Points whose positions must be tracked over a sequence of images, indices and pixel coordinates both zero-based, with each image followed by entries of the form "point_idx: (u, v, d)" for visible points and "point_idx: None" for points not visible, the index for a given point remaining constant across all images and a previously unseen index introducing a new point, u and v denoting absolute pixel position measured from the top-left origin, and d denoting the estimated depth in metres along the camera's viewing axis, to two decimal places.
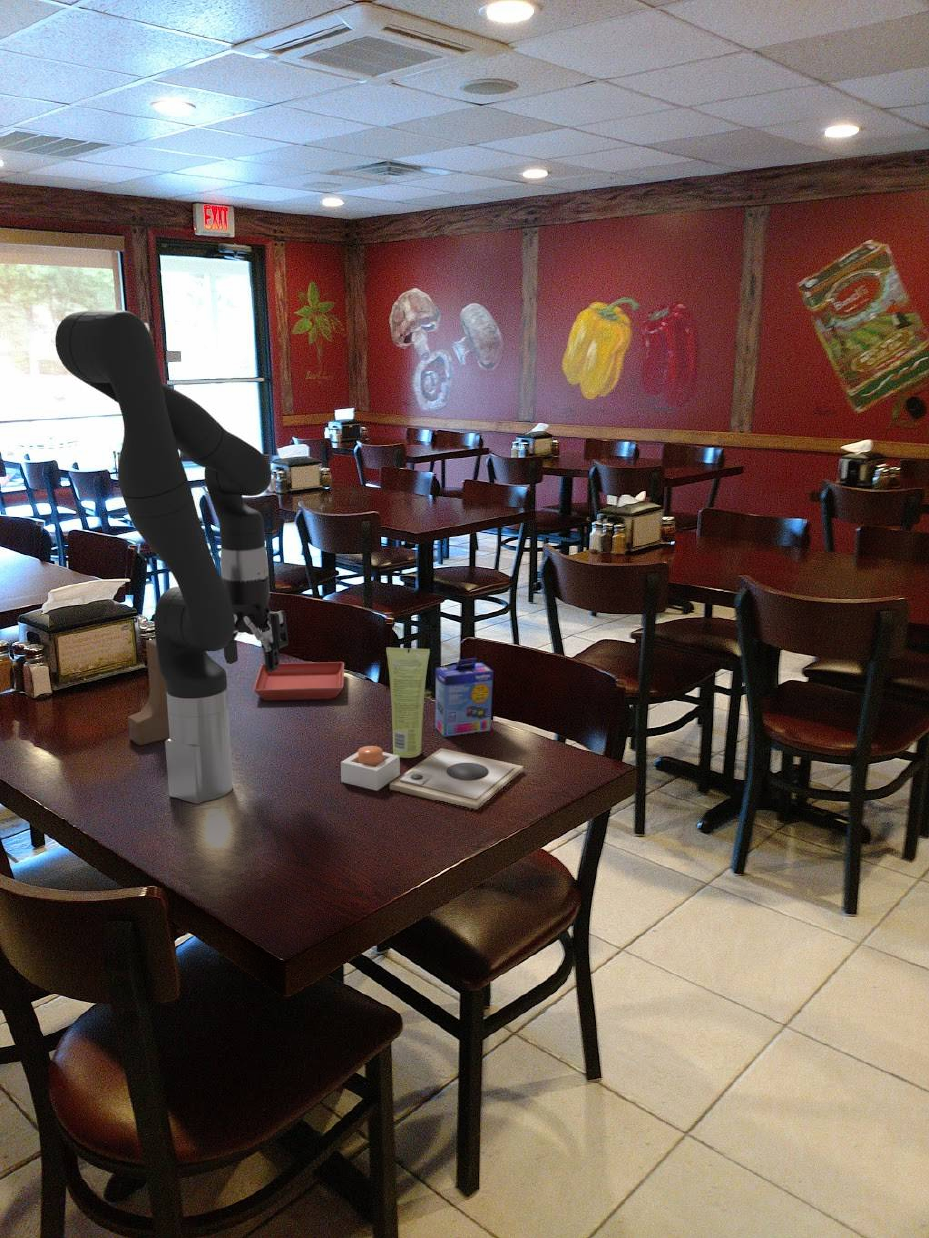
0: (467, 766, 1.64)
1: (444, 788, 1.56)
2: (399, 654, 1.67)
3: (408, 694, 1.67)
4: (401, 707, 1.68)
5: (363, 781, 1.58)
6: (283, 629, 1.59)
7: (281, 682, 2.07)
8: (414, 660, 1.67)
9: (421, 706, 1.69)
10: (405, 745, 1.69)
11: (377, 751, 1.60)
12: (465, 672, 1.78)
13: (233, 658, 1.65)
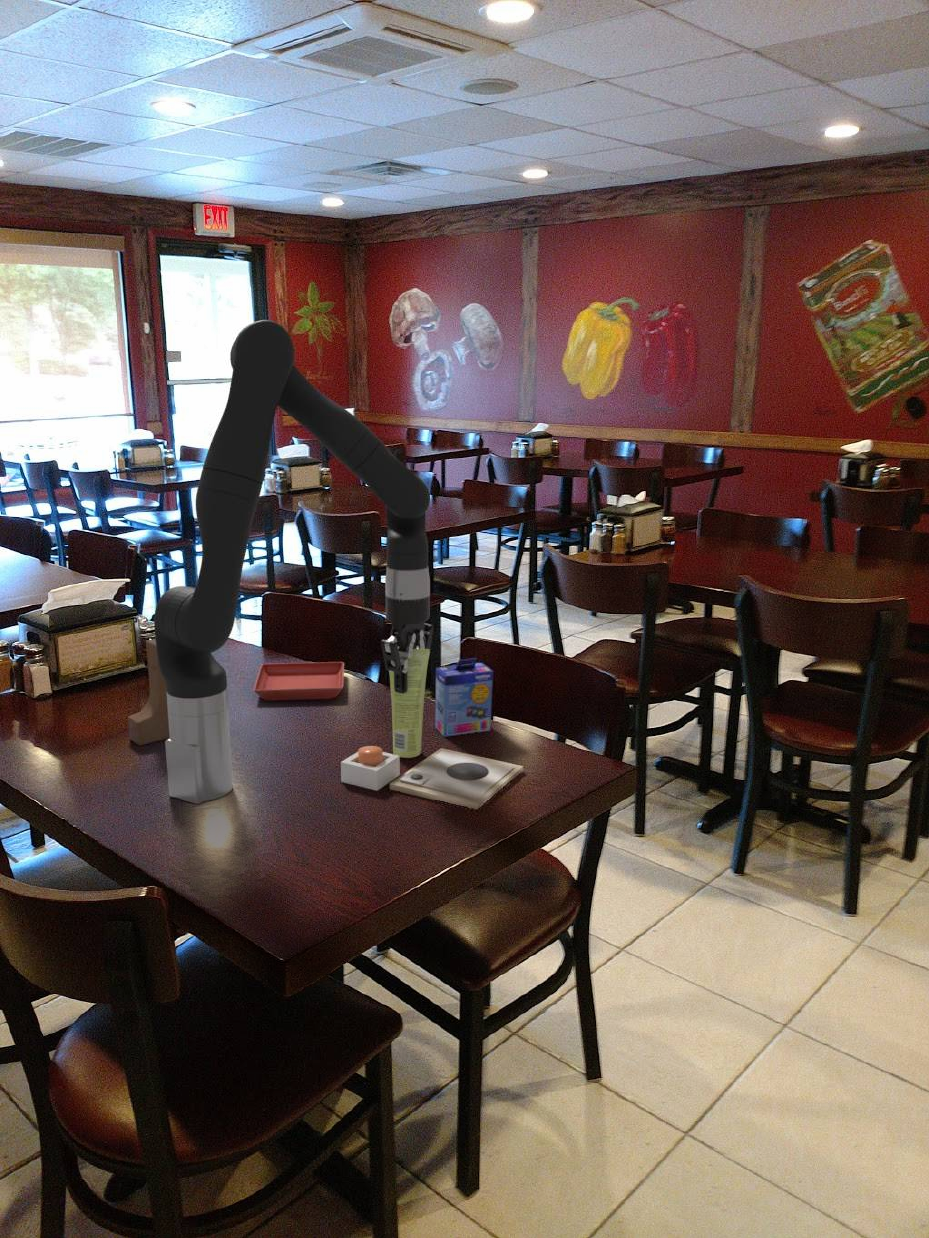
0: (467, 766, 1.64)
1: (444, 788, 1.56)
2: None
3: (408, 694, 1.67)
4: (401, 707, 1.68)
5: (363, 781, 1.58)
6: None
7: (281, 682, 2.07)
8: (414, 660, 1.67)
9: (421, 706, 1.69)
10: (405, 745, 1.69)
11: (377, 751, 1.60)
12: (465, 672, 1.78)
13: None
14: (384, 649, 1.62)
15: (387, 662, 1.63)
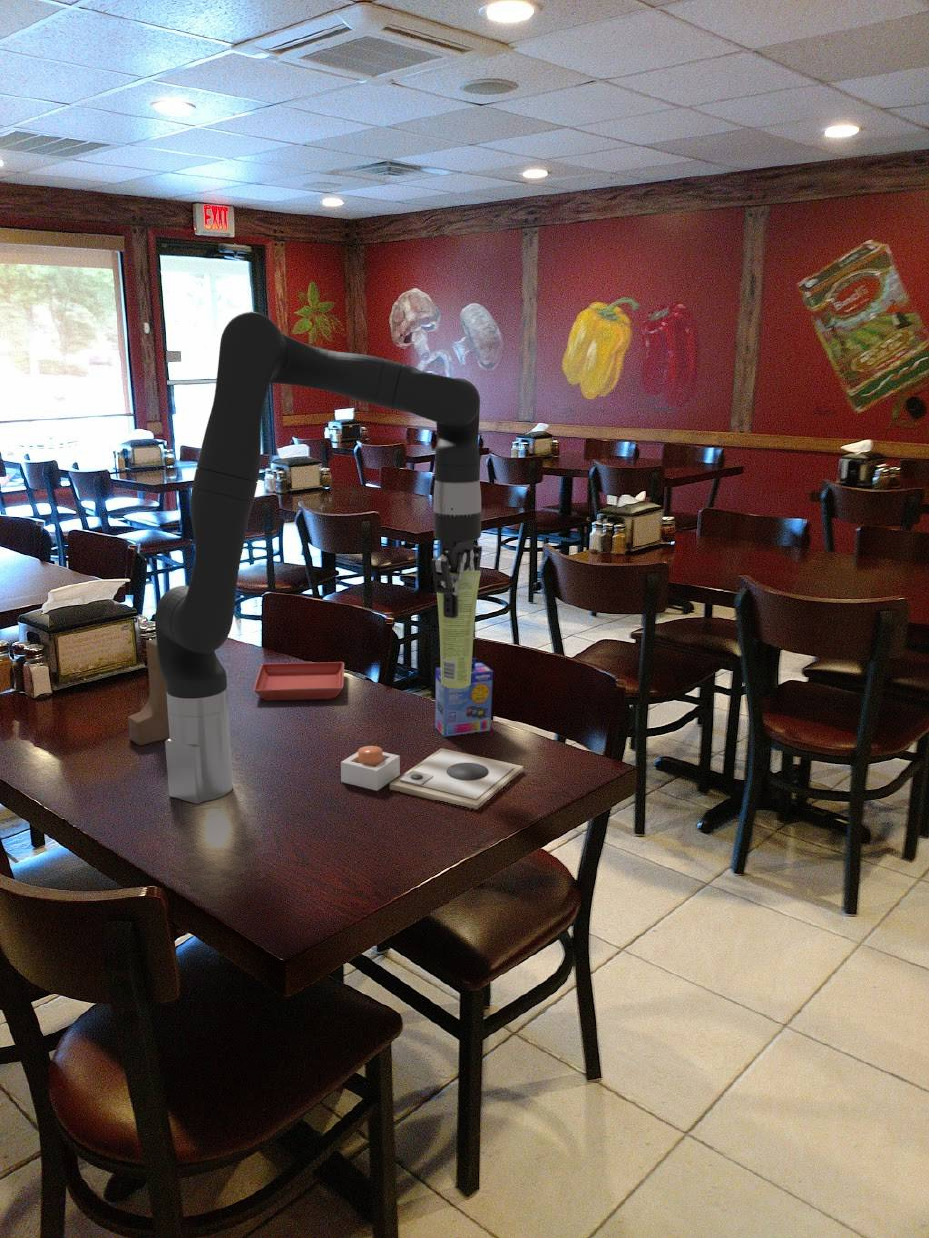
0: (467, 766, 1.64)
1: (444, 788, 1.56)
2: None
3: (458, 619, 1.56)
4: (451, 633, 1.57)
5: (363, 781, 1.58)
6: None
7: (281, 682, 2.07)
8: (464, 583, 1.56)
9: (472, 632, 1.58)
10: (455, 675, 1.58)
11: (377, 751, 1.60)
12: None
13: None
14: (434, 569, 1.50)
15: (437, 583, 1.52)
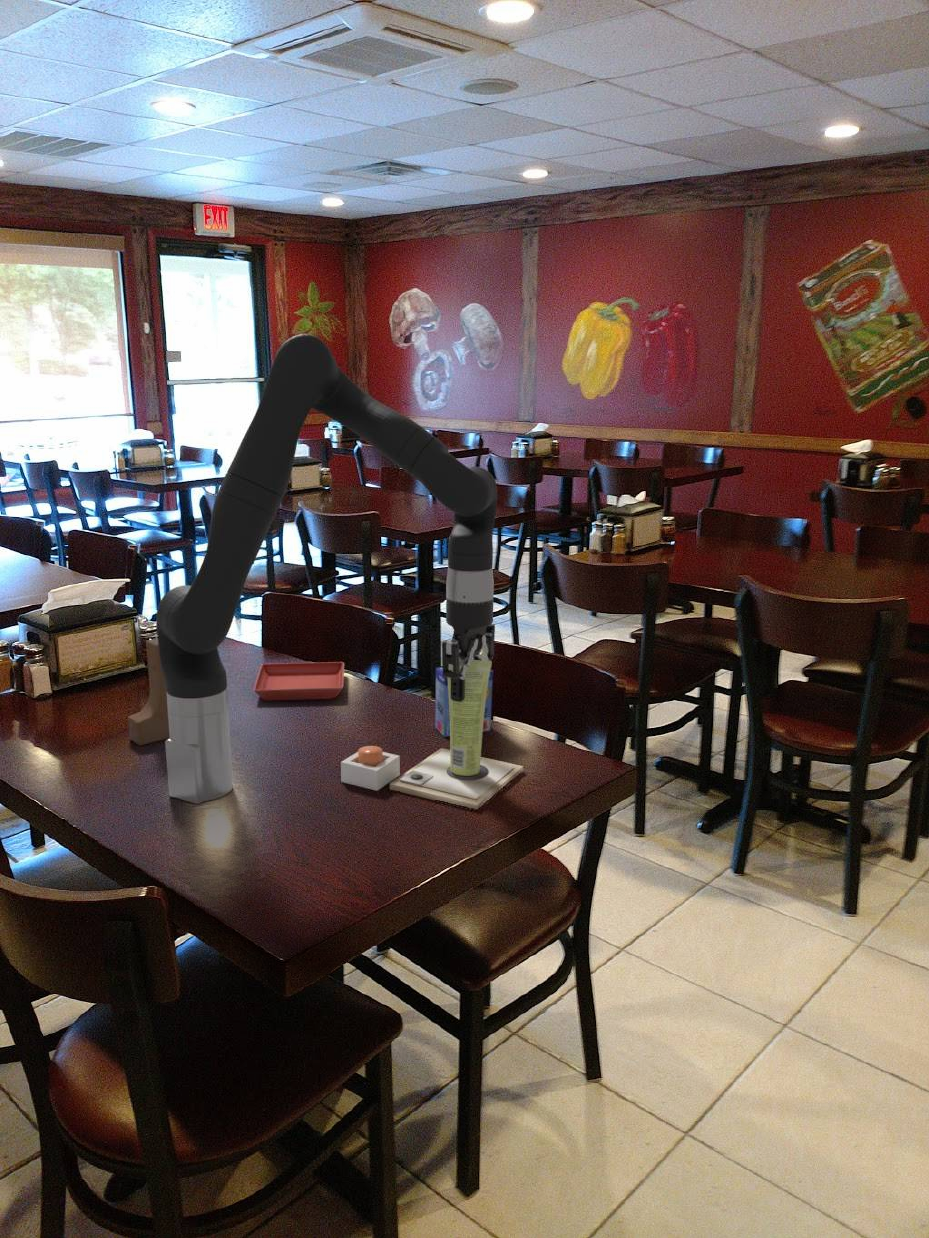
0: None
1: (444, 788, 1.56)
2: None
3: (468, 708, 1.57)
4: (460, 721, 1.58)
5: (363, 781, 1.58)
6: None
7: (281, 682, 2.07)
8: (475, 672, 1.57)
9: (481, 721, 1.59)
10: (463, 762, 1.59)
11: (377, 751, 1.60)
12: None
13: None
14: (445, 650, 1.51)
15: (445, 667, 1.52)
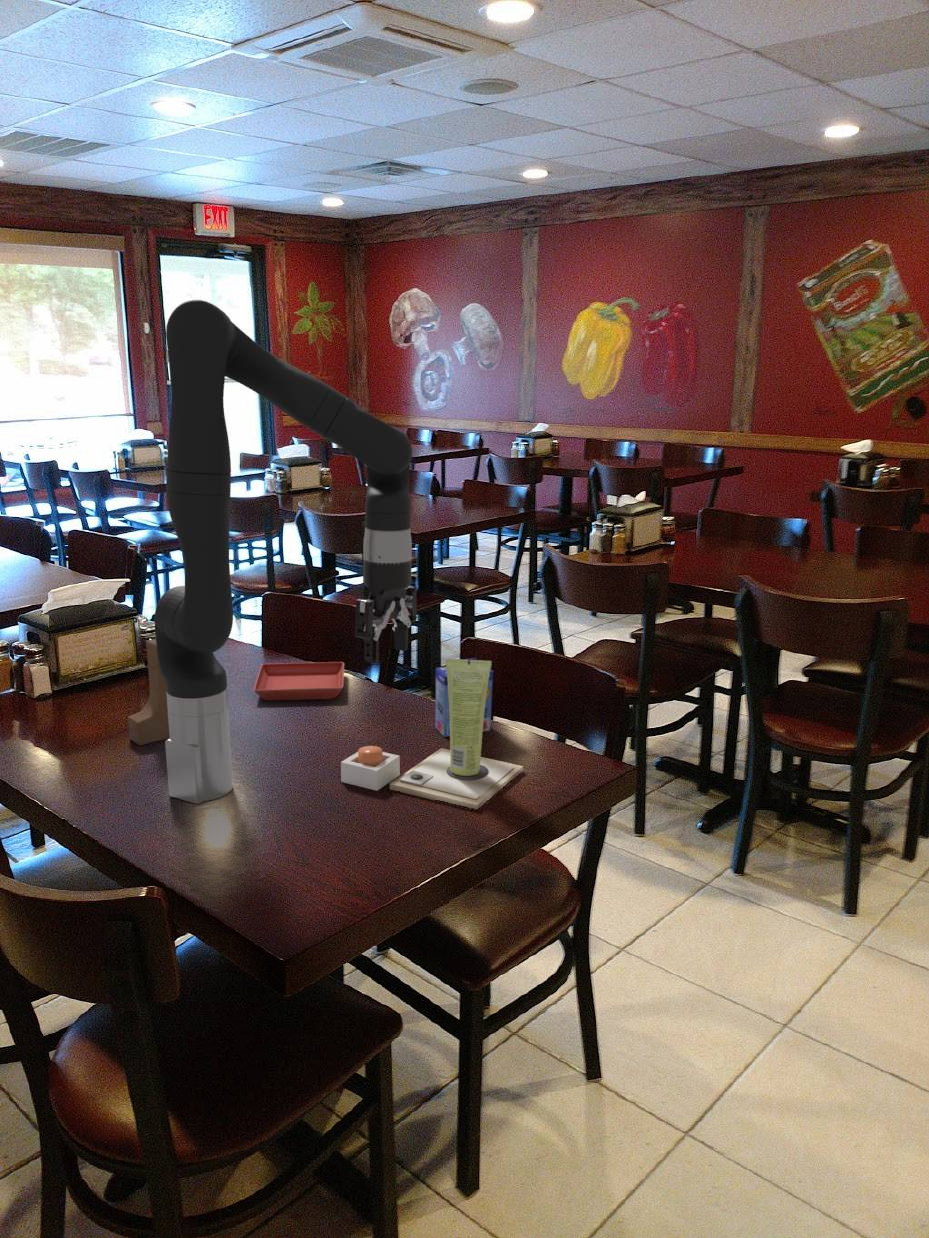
0: None
1: (444, 788, 1.56)
2: (458, 666, 1.57)
3: (468, 708, 1.57)
4: (460, 722, 1.58)
5: (363, 781, 1.58)
6: None
7: (281, 682, 2.07)
8: (475, 672, 1.57)
9: (481, 721, 1.58)
10: (463, 762, 1.59)
11: (377, 751, 1.60)
12: None
13: None
14: (358, 608, 1.48)
15: (358, 626, 1.49)
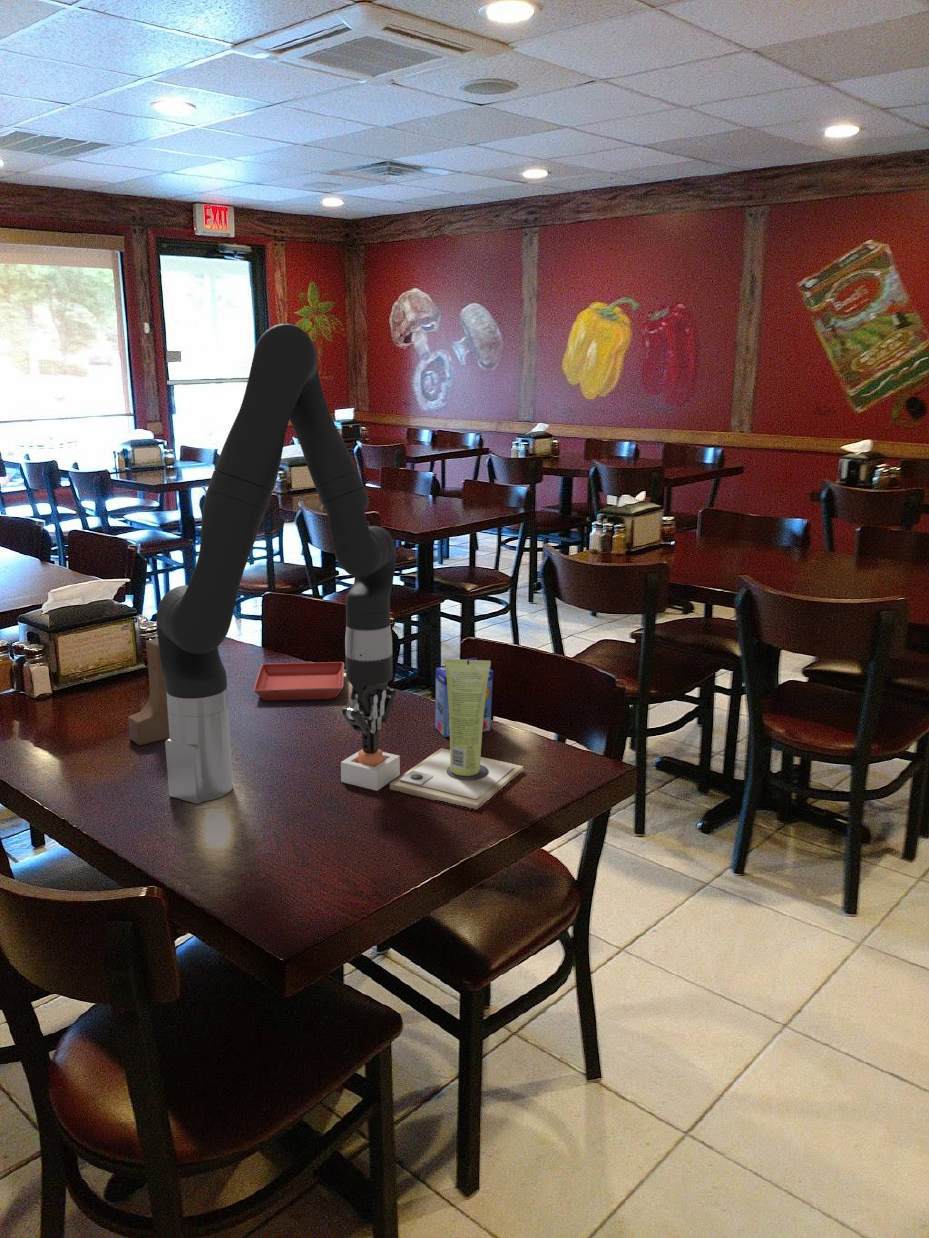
0: None
1: (444, 788, 1.56)
2: (458, 666, 1.57)
3: (468, 708, 1.57)
4: (460, 722, 1.58)
5: (363, 781, 1.58)
6: None
7: (281, 682, 2.07)
8: (474, 672, 1.57)
9: (481, 721, 1.58)
10: (463, 762, 1.59)
11: (377, 753, 1.60)
12: None
13: None
14: (347, 717, 1.54)
15: (353, 725, 1.57)
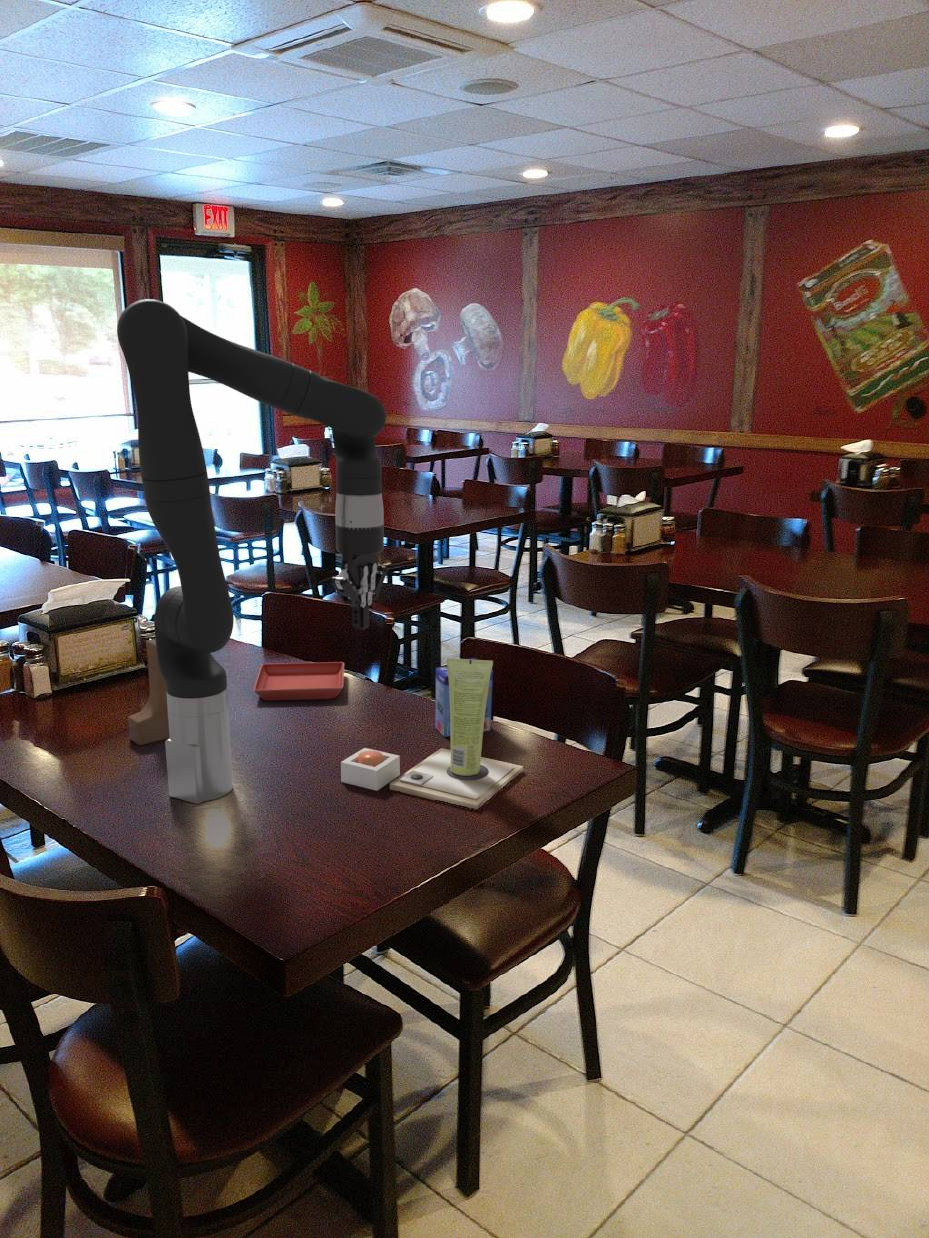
0: None
1: (444, 788, 1.56)
2: (460, 665, 1.57)
3: (469, 708, 1.57)
4: (461, 721, 1.58)
5: (363, 781, 1.58)
6: None
7: (281, 682, 2.07)
8: (476, 672, 1.57)
9: (482, 721, 1.59)
10: (464, 762, 1.59)
11: (377, 756, 1.60)
12: None
13: None
14: (336, 587, 1.51)
15: (343, 597, 1.53)
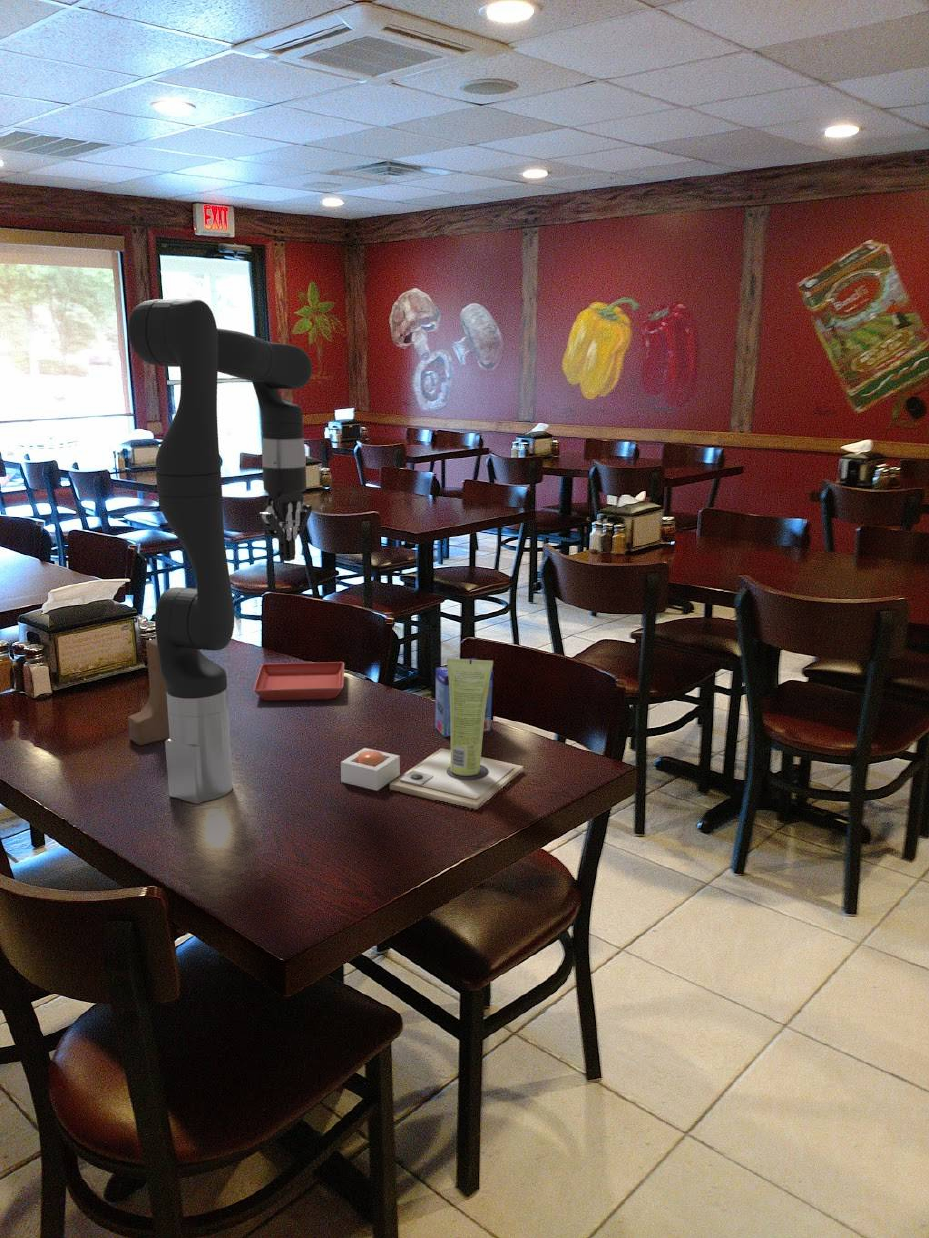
0: None
1: (444, 788, 1.56)
2: (460, 665, 1.57)
3: (469, 708, 1.57)
4: (461, 721, 1.58)
5: (363, 781, 1.58)
6: None
7: (281, 682, 2.07)
8: (476, 672, 1.57)
9: (482, 721, 1.59)
10: (464, 762, 1.59)
11: (377, 756, 1.60)
12: None
13: None
14: (263, 521, 1.70)
15: (270, 531, 1.72)
